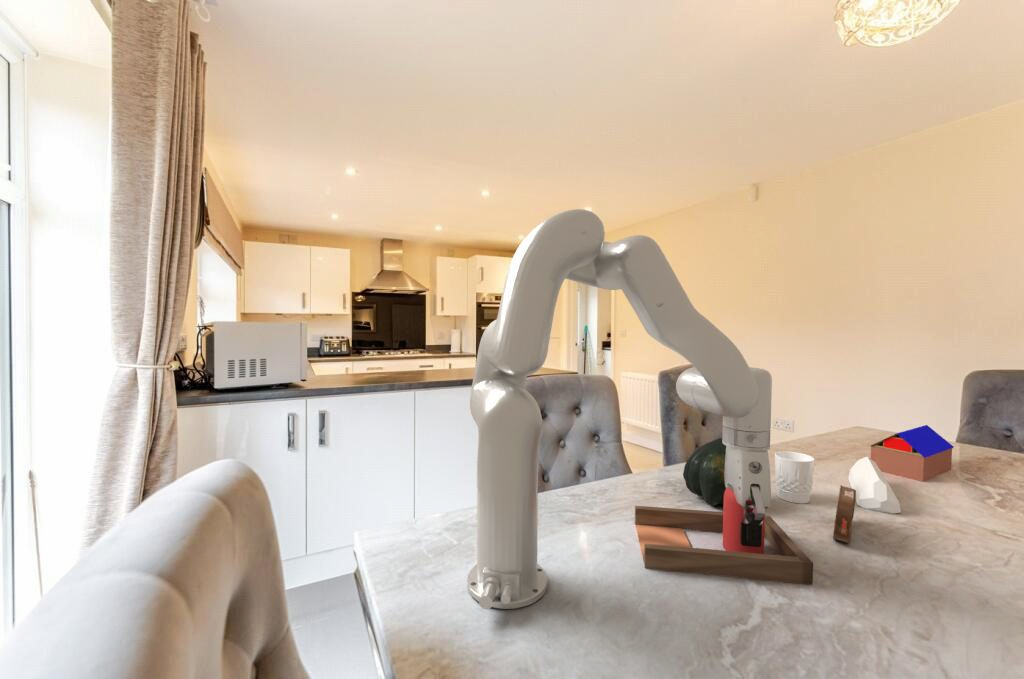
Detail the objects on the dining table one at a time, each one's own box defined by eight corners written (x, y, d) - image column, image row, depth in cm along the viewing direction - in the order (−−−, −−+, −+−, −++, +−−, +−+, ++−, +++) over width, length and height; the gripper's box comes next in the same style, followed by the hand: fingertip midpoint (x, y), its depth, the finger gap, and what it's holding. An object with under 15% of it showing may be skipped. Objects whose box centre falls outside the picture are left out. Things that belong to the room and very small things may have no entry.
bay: (812, 584, 69) (813, 563, 69) (645, 568, 73) (645, 547, 73) (768, 532, 86) (769, 515, 85) (634, 522, 90) (634, 505, 90)
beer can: (769, 564, 75) (771, 495, 74) (728, 559, 76) (730, 492, 75) (756, 544, 81) (758, 481, 81) (718, 540, 82) (719, 478, 82)
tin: (836, 518, 92) (837, 479, 92) (855, 522, 90) (856, 482, 90) (831, 546, 81) (833, 501, 80) (853, 552, 79) (854, 506, 78)
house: (868, 469, 123) (869, 428, 123) (899, 458, 133) (900, 420, 132) (923, 483, 113) (925, 438, 112) (953, 470, 123) (955, 429, 122)
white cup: (797, 491, 107) (799, 450, 106) (821, 504, 99) (823, 461, 98) (766, 491, 106) (767, 451, 106) (787, 505, 99) (789, 461, 98)
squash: (676, 483, 97) (725, 436, 94) (668, 464, 111) (711, 423, 109) (727, 532, 94) (779, 484, 92) (712, 506, 109) (757, 464, 106)
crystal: (915, 503, 91) (893, 470, 111) (877, 480, 94) (863, 452, 114) (890, 528, 93) (873, 491, 113) (854, 505, 96) (844, 473, 117)
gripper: (791, 452, 68) (787, 563, 69) (750, 426, 86) (748, 515, 86) (739, 450, 70) (736, 559, 71) (710, 424, 87) (708, 512, 88)
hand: (743, 534), depth 78 cm, fingers closed on beer can, 6 cm apart
